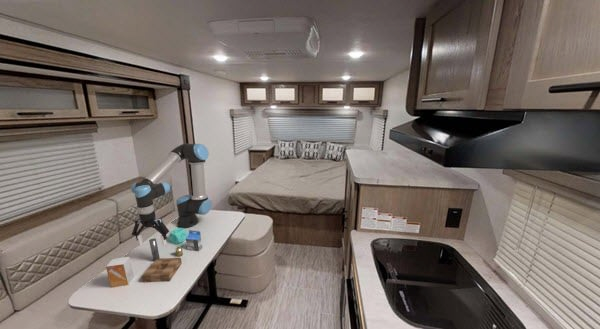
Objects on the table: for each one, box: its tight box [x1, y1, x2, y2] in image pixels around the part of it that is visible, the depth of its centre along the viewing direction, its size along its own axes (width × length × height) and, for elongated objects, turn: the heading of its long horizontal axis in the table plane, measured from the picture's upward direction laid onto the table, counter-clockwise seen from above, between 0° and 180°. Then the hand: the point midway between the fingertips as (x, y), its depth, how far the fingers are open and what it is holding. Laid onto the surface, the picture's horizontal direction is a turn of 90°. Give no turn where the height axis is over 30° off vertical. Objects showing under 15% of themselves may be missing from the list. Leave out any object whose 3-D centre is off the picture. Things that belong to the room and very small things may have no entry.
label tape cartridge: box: [185, 229, 203, 252], centre depth 145 cm, size 9×4×12 cm, turn 79°
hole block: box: [141, 257, 183, 283], centre depth 125 cm, size 14×14×4 cm
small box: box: [105, 256, 135, 288], centre depth 117 cm, size 8×6×13 cm
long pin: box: [149, 238, 161, 262], centre depth 134 cm, size 3×3×14 cm
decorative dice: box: [168, 227, 188, 245], centre depth 154 cm, size 8×8×8 cm
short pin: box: [175, 246, 184, 258], centre depth 139 cm, size 3×3×5 cm
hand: (152, 244), depth 132 cm, fingers open, 13 cm apart
